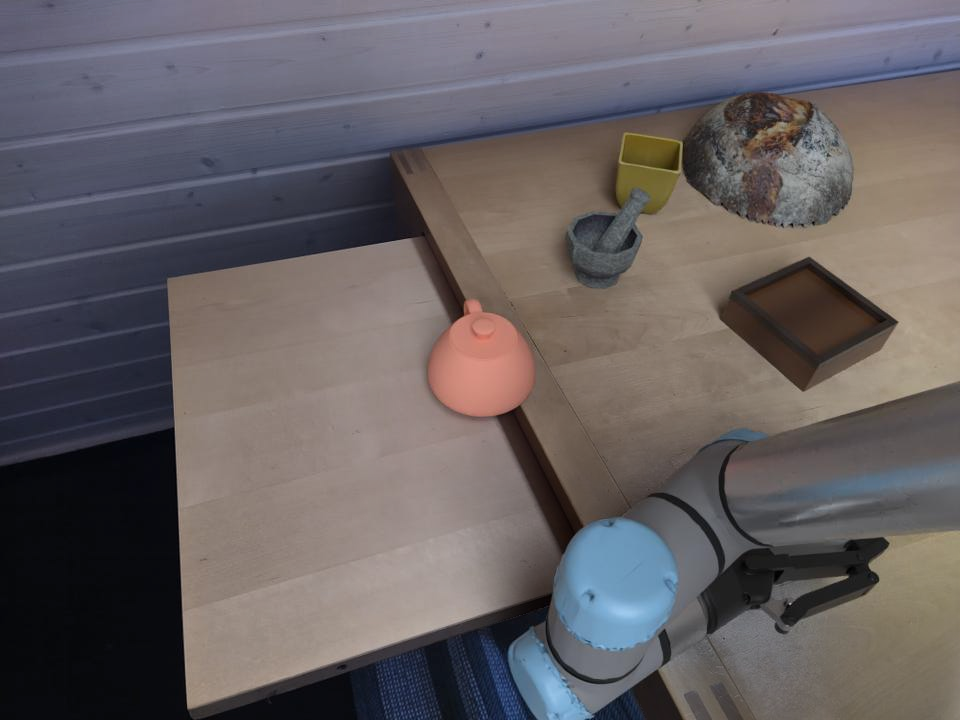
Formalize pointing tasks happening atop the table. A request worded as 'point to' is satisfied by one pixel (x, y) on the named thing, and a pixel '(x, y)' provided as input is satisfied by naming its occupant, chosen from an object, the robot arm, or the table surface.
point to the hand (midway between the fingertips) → (857, 482)
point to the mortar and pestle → (606, 242)
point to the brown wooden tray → (807, 322)
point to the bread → (770, 160)
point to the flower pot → (648, 168)
